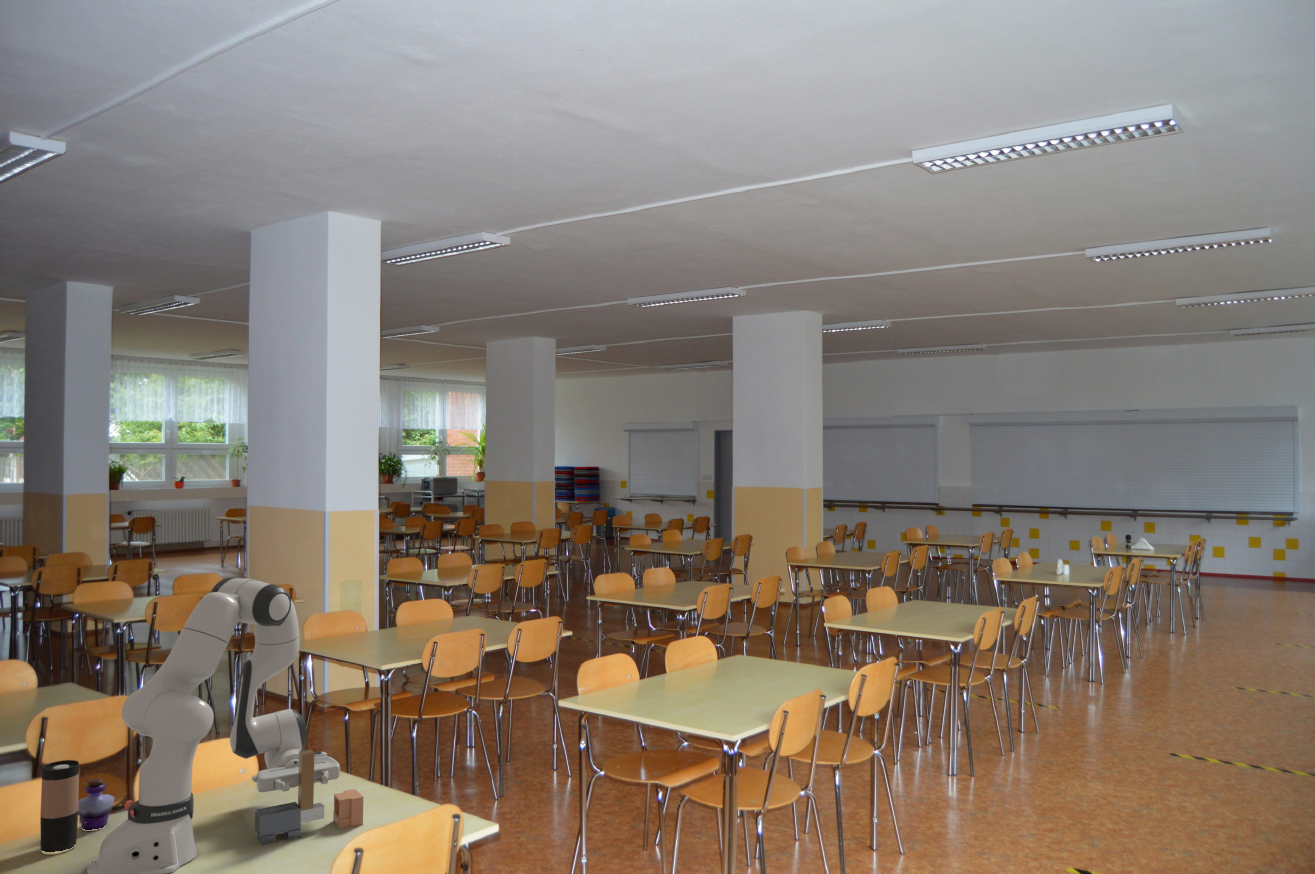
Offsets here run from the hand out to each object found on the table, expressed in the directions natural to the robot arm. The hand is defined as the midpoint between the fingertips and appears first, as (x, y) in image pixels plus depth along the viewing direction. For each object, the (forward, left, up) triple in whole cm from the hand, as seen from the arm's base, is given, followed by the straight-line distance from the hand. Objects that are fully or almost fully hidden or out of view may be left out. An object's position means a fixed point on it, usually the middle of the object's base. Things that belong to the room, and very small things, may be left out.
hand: (306, 784), depth 232 cm
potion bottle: (-43, +32, -12) cm, 55 cm away
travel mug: (-51, +22, -12) cm, 57 cm away
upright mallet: (-3, 0, -9) cm, 9 cm away
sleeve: (-6, 0, -12) cm, 14 cm away
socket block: (+11, 0, -12) cm, 16 cm away
